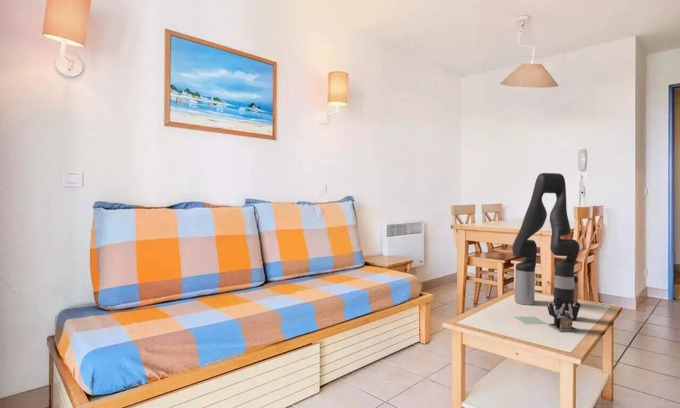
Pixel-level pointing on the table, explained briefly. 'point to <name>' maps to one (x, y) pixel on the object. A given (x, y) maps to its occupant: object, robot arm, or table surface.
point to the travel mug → (574, 297)
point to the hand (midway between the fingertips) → (562, 326)
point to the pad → (530, 320)
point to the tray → (563, 330)
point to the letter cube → (565, 323)
